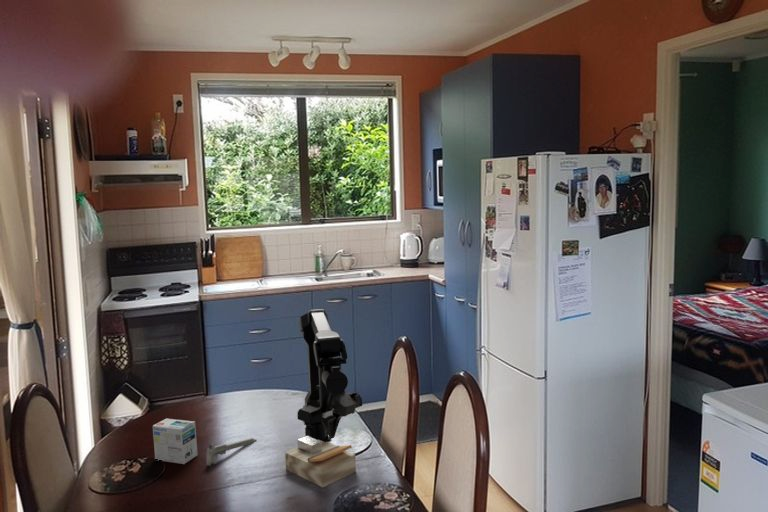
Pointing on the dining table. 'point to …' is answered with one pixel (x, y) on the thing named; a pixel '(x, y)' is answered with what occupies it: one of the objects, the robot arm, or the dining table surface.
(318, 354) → the robot arm
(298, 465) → the hitch block
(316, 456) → the tan wooden plank
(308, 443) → the steel pin
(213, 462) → the caliper
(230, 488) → the dining table surface
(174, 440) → the light bulb box
